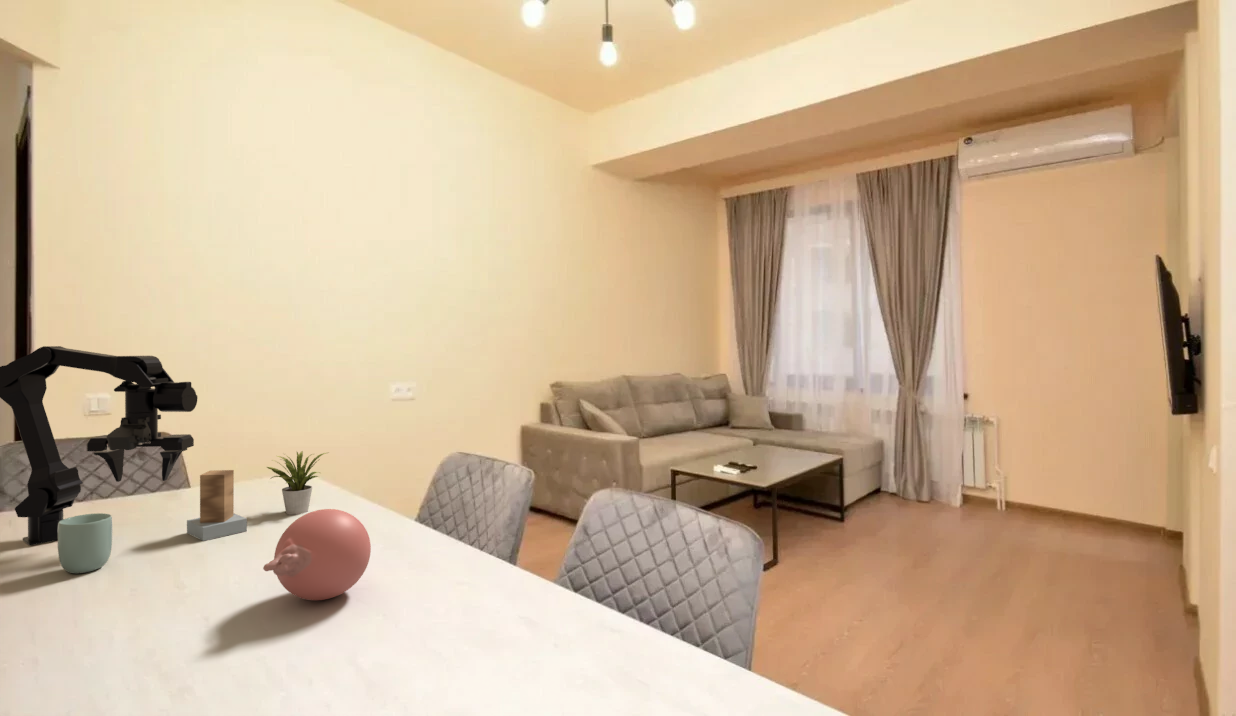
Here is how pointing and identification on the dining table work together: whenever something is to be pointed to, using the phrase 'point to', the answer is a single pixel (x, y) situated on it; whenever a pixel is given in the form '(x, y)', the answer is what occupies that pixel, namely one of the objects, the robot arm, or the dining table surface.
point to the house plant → (296, 484)
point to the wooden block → (216, 496)
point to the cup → (84, 542)
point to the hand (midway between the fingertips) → (141, 480)
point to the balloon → (321, 554)
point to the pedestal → (216, 528)
